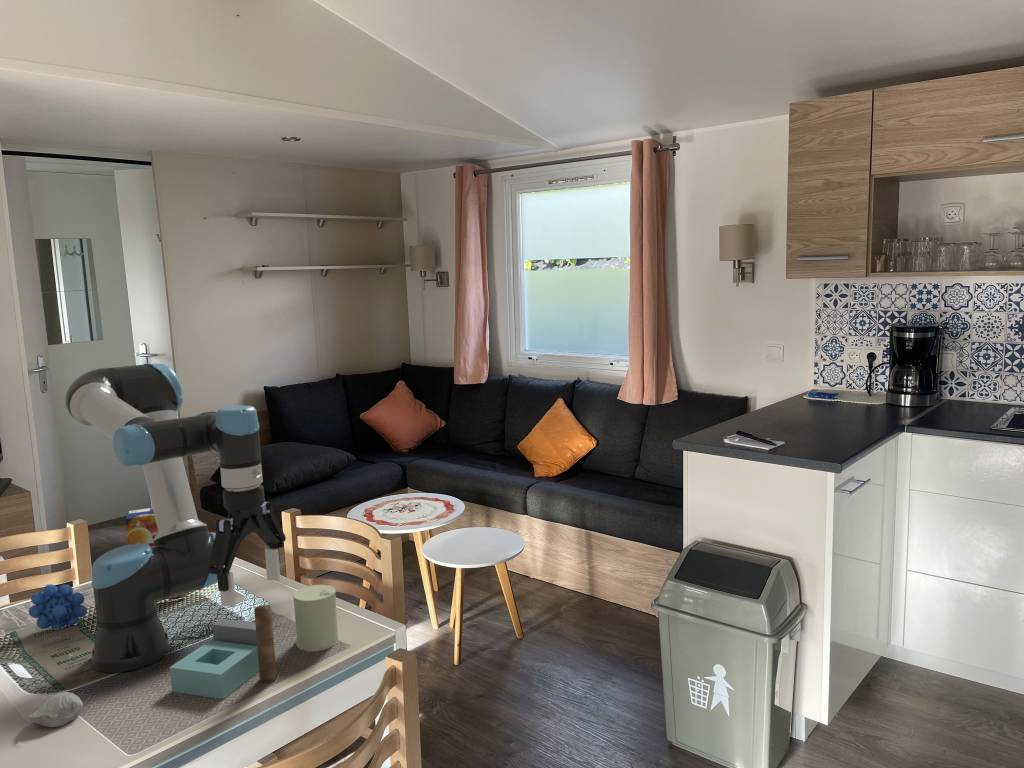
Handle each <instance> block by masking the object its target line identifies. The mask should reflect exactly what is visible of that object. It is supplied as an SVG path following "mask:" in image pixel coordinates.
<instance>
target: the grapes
mask: <svg viewBox="0 0 1024 768" xmlns="http://www.w3.org/2000/svg"><path fill="white" fill-rule="evenodd" d="M30 601H31V603H32V604H33V605H32V606H30V607H29V608H28V615H29V616H30V617H32V618H33V619H37V620H36V625H37V627H38V628H39V629H42V630H47V629H49V628H52V629H61V628H62V627H64V626H65V625H74V624H76V623H77V622H78V621H79V620H80V618H83V617H85V616H86V615H87V613H88V609H87V607H86V606H85V605H83V603H84V602H85V595H84V594H83V593H81V592H74V589H73V587H72V586H71V585H69V584H62V585H60V586H59V587H57V586H56V585H55V584H46V585H45V586H44V587H43V588H42V592H35V593H33V594H32V595H31V597H30ZM52 629H51V630H52ZM61 630H62V629H61Z"/></svg>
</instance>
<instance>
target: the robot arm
mask: <svg viewBox="0 0 1024 768" xmlns="http://www.w3.org/2000/svg"><path fill="white" fill-rule="evenodd" d="M183 399H184V397H183V388H182V385H181V383H180V379H179V378H178V376H177V374H176V372H175V371H174V370H173V368H172V367H170V366H169V365H167V364H165V363H148V362H147V363H143V364H136V365H135V364H134V365H127V366H126V365H124V366H115V367H114V366H113V367H102V368H96V369H93V370H89V371H87V372H84V374H83V373H82V375H80V376H78V377H77V378H76V379H75V380H74V381H73V382H72V383H71V384H70V386H69V387H68V388H67V392H66V394H65V401H64V402H65V408H66V409H67V411H68V413H69V415H70V416H71V417H72V418H73V419H75V420H76V421H77V422H78V423H80V424H81V425H84V426H90V427H93V428H95V429H97V430H98V431H99V432H100V433H101V434H103V435H104V436H106V437H107V438H108V439H110V440H111V441H112V442H113V443H112V444H113V450H114V453H115V457H116V458H117V460H118V462H119V463H120V465H122V466H125V467H132V466H141V467H142V472H143V474H144V478H145V482H146V488H147V491H148V493H149V494H148V495H149V499H150V503H151V508H153V511H154V515H155V519H156V523H157V527H158V533H157V535H156V536H155V538H154V539H153V542H154V546H155V547H154V548H151V547H150V545H148V544H145V543H135V544H133V545H131V544H129V545H128V544H125V545H121V546H119V547H116V548H113V549H111V550H108V551H107V552H104V553H103V554H102V555H100V556H99V557H98V558H97V559H95V561H94V562H93V565H92V567H91V575H92V576H91V577H92V578H91V580H92V581H91V586H92V588H93V597H94V599H93V600H94V606H95V614H96V615H95V616H96V622H97V631H96V634H95V638H94V644H93V645H94V646H93V648H92V651H91V665H92V668H93V669H94V670H96V671H98V672H102V673H108V674H109V673H123V672H130V671H134V670H137V669H141V668H143V667H144V668H145V667H147V666H150V665H151V664H154V663H156V662H158V661H159V660H161V659H163V658H164V657H165V656H167V654H168V653H169V651H170V639H169V635H168V633H167V632H166V631H165V628H164V625H163V623H162V622H161V619H160V618H159V616H158V615H159V614H158V608H157V607H158V604H157V602H159V601H162V600H165V599H169V598H172V597H175V596H179V595H182V594H185V593H187V594H188V593H192V592H195V591H201V590H203V589H204V588H206V587H210V586H213V585H215V584H217V589H218V591H219V594H220V603H221V605H220V606H221V607H229V608H235V607H237V604H236V603H237V602H236V593H235V591H236V590H235V579H234V572H232V571H231V568H232V566H233V564H234V561H235V559H236V556H237V553H238V550H239V548H240V545H241V543H242V542H243V541H244V540H245V538H246V537H247V536H249V535H250V534H251V533H255V534H256V535H258V537H259V538H260V540H262V541H263V543H264V544H265V545H266V546H267V547H266V548H264V554H265V555H264V557H265V568H266V579H267V581H277V582H279V581H281V580H282V579H281V568H280V561H281V560H280V559H281V558H280V557H281V556H280V548H281V549H282V548H284V545H285V544H284V543H285V541H286V535H285V532H284V530H283V529H282V526H281V524H280V522H279V520H278V518H277V516H276V514H275V511H274V505H273V502H272V501H271V502H270V501H266V500H265V488H264V485H262V483H263V482H264V480H263V468H262V456H261V454H262V453H261V440H260V439H261V438H260V422H259V419H258V413H257V409H256V407H254V406H252V405H231V406H230V405H229V406H223V407H221V408H219V409H218V410H217V411H211V410H210V411H203V412H202V411H201V412H199V413H197V414H196V415H194V416H193V415H191V416H186V417H185V416H184V417H179V418H178V415H179V413H178V410H179V409H180V408H181V407H182V405H183V402H184V401H183ZM214 452H215V453H218V455H219V467H220V479H221V487H222V488H224V489H223V490H222V500H223V507H224V509H226V511H227V514H228V516H227V519H217V520H216V522H215V532H212V531H211V532H209V529H208V528H209V527H208V525H207V524H206V523H205V522H202V521H201V520H200V519H199V518H198V514H197V510H196V506H195V502H194V498H193V494H192V491H191V487H190V483H189V480H188V476H187V471H186V468H185V464H184V460H183V457H185V458H186V457H190V456H194V455H201V454H207V453H214ZM234 533H235V534H234Z"/></svg>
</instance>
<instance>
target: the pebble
mask: <svg viewBox="0 0 1024 768" xmlns="http://www.w3.org/2000/svg"><path fill="white" fill-rule="evenodd" d="M83 706H84V703H83V700H81V698H80V697H79V696H78V695H76V694H75V693H73V692H69V691H65V692H60V693H56V694H54V695H52V696H51V697H49V698H48V699H46V700H45V701H44V702H43V703H42V704H41V705H40V707H39V708H37V710H35V711H34V712H32V714H30V715H28V717H27V719H28V721H30V722H34V723H35V724H38V725H40V726H43V727H48V728H56V727H61V726H64V725H66V724H68V723H69V722H72V721H75V720H76V719H77V717H78V716H79V715H80V713H81V712H82V710H83V708H84V707H83Z"/></svg>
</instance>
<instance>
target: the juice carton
mask: <svg viewBox="0 0 1024 768" xmlns="http://www.w3.org/2000/svg"><path fill="white" fill-rule="evenodd" d="M125 524H126V525H125V526H126V534H127V545H129V544H131V545H133V544H135V543H145V544H148V545H150V547H151V548H154V547H155V546H154V542H153V539H154V538H155V536H156V535H157V533H158V527H157V523H156V519H155V515H154V511H153V507H151V508H150V507H149V508H143V509H142V508H141V509H133V510H128V511H127V513H126V516H125ZM182 597H186V593H185V594H182V595H179V596H175V597H172V598H169V599H178V598H182Z"/></svg>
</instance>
